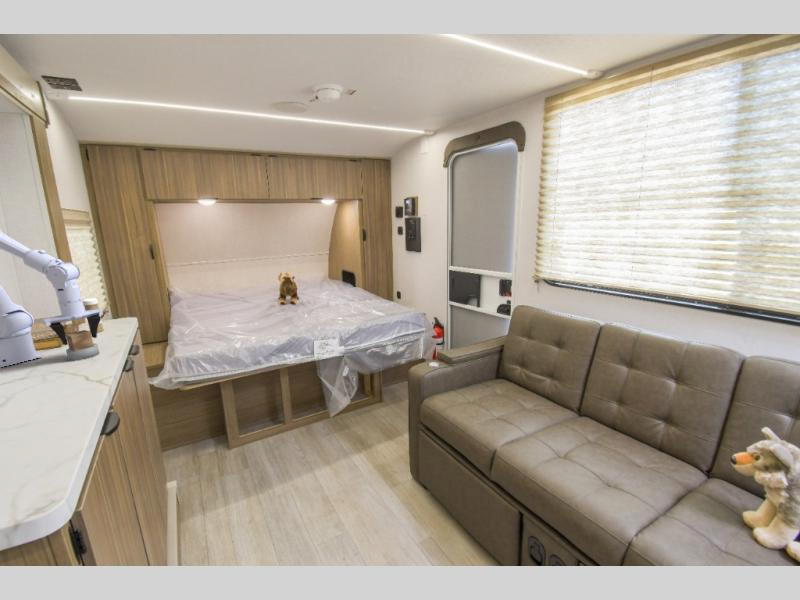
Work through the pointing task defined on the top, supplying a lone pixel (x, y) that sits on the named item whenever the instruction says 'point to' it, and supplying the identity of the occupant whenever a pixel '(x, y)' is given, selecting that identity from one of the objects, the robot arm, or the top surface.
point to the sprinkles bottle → (91, 305)
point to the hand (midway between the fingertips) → (80, 340)
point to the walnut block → (79, 340)
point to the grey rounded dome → (83, 353)
